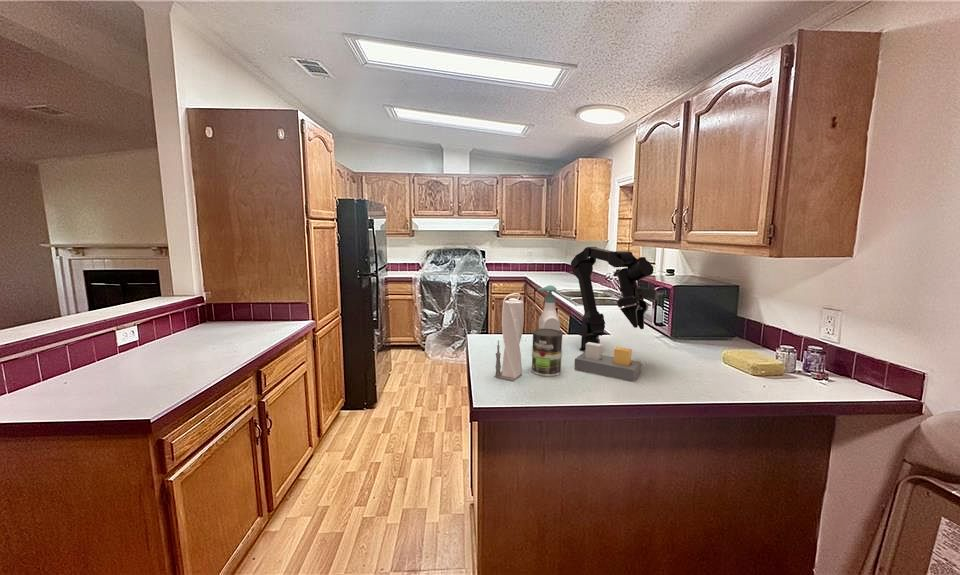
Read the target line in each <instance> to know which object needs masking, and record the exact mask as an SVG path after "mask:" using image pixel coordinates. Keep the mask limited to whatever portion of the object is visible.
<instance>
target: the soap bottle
mask: <svg viewBox="0 0 960 575" xmlns="http://www.w3.org/2000/svg"><path fill="white" fill-rule="evenodd" d="M537 290H538V291H540V292H541V291H542V292H548V294H547V295H545V297H544V306H543V307H544V308H543V309H542V312H541V315H540V316H539V319H538V329H554V330H559V331H561V323H560V319H559V316H558V313H557V310H556V297H555V295H552V294H553V293H552V292H557V287H556V286H554V285H547V286H544V287H541V288H540V287H539V288H537Z"/></svg>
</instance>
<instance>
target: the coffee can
mask: <svg viewBox="0 0 960 575" xmlns="http://www.w3.org/2000/svg"><path fill="white" fill-rule="evenodd" d="M563 334H564V333H563V332H562V331H561V330H560V331H559V330H554V329H539V328H537V329H534V330H532V351H531V352H532V353H531V355H532V356H531V357H532V358H531V361H532V362H531V372H532V373H533V374H535V375H537V376H541V377H556V376H560V374H561V373H562V354H563V352H562V350H563Z"/></svg>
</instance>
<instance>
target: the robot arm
mask: <svg viewBox="0 0 960 575" xmlns="http://www.w3.org/2000/svg"><path fill="white" fill-rule="evenodd" d="M646 258H647V257H646V256H640V257H638V258H637V257H635V256H634V255H633V251H631V250H630V251H629V250H625V251H623V250H621V251H619V250H618V251H613V250H608V249H604V248H600V247H597V246H587V247H585V248H584V249H583V250H582V251H581V252H579V253H578V254H576V255H575V256H574V258H572V260H571V262H570V267H571V270H572V274H574V276H575V277H576V278H577V279H578V285H579V289H580V290H579V291H580V295H581V299H582V305H583V311H584V314H583V316H582V319H581V322H582V323H581V325H580V326H579V327H578V328H577V334H578V336H581V341H580V342H581V344H580V348H579V351H583V352H585V349H586V343H588V342H592V343H598V344H601V339H599V338H600V336H601V337H602V336H603V334H604V332H605V328H606V321H605V316H604V313H600V311H598V309H597V303H596V299H595V298H596V297H595V293H594V289H593V284H592V278H591V276H592V273H593V271H594V268H593V266H594V265H595V264H596V263H597V260H600V261H605V262H607V263H608V265H610V266H611V267H613V268H618V269H615V272H614V273H613V275H612V276H613V277H616V278H617V279H618V283H619V287H620V288H619V289H618V290H619V292H620V293H621V296H622V297H621V298H619V299H618V300H617V302H616V303H617V307H618V308H619V310H620V311H621V312H622V314H623V315H624V316H625V317H626V319H627V321H629V323H630V324H631V325H632V327H633V328H634V329H636V328H639V329H640V330H644V328H645V314H646V313H647V311H648V309H649V304H648V302H646V301H644V300H652V301H657V300H658V297H659V291H658V290H657V289H655V288H641V287H640V286H639V285H638V282H639V281H641V280H643V279H645V278H648V277H650V276H652V275H653V273H654V266H653V265H652V263H651V262H650V261H649V260H647V259H646Z"/></svg>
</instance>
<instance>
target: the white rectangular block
mask: <svg viewBox="0 0 960 575" xmlns="http://www.w3.org/2000/svg"><path fill="white" fill-rule="evenodd" d="M584 352H585V358H589V359H594V360H599V361H600V360H601V359H602V355H603V343H600V344H598V343H592V342H588V343H586V349H585V351H584Z"/></svg>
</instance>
